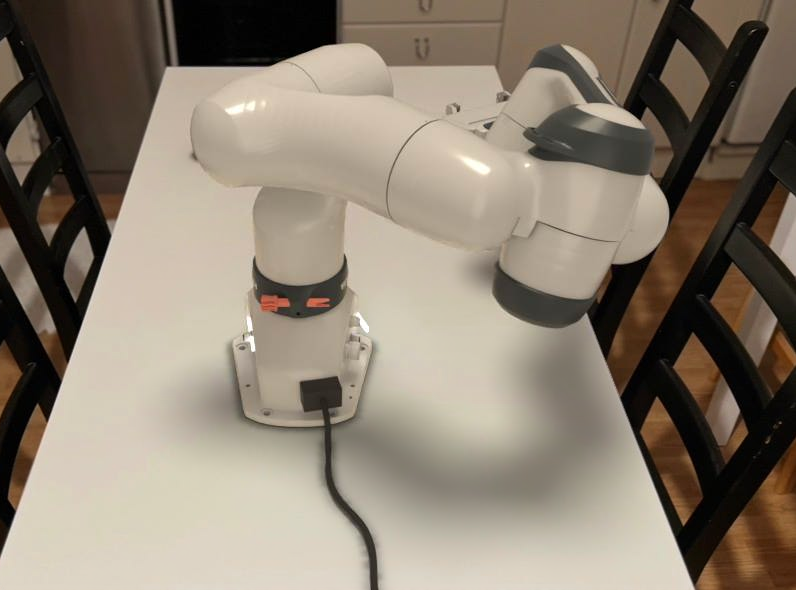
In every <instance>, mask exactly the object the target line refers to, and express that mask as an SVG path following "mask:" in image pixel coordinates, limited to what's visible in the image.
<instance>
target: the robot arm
mask: <svg viewBox="0 0 796 590" xmlns="http://www.w3.org/2000/svg"><path fill="white" fill-rule="evenodd" d="M495 102H496V103H493V104H488V105H484V106H480V107H475V108H472V109H467V110H463V111H461V106H460V105H459V104H458V103H456V102H453V103H447V104H446V107H445V115H443V116H442V117H439V116H437V115H435V114H432V113H430V112H428V111H426V110H423V109H421V108H418V107H416V106H414V105H411V104H409V103H407V102H404V101H402V100H399V99H397V98H395V95H394V83H393V78H392V75H391V72H390V70H389V68H388V66H387V64H386V62H385V61H384V59H383V58H382V57H381V55H380V54H379V53H378V52H377V51H376V50H375V49H373V48H372V47H371V46H369V45H367V44H364V43H360V42H353V43H352V42H350V43H337V44H328V45H322V46H320V47H317V48H314V49H312V50H309V51H307V52H304V53H303V52H302V53H301V54H298V55H295V56H293V57H290V58H287V59H285V60H282V61H279V62H277V63H275V64H273V65H270V66H267V67H265V68H262V69H259V70H256V71H254V72H251V73H248V74H246V75H243V76H240V77H237V78H235V79H232V80H229V81H228V82H227V83H225V84H224V85H222V86H221V87H218V89H216V90H215V91H213V92H212V93H210V94H208V96H206V97H205V98H203V99H202V100H201V101H199V102H198V103H197V104H196V105H195V107H194V109H193V111H192V115H191V119H190V128H189V133H190V134H189V135H190V143H191V147H192V151H193V153H194V157H195V158H196V161H197V163H198V164H199V165H200V167H201V168H202V170H203V171H204V172H205V173H206V174H207V175H208V176H209V177H210V178H211V179H213V180H214V181H215V182H216V183H218V184H220V185H221V186H223V187H226V188H229V189H240V188H241V189H242V188H255V187H261V188H260V190H259V192H258V193H257V195H256V197H255V200H254V203H253V206H252V214H251V215H252V229H253V242H254V243H253V245H254V256H253V257H252V258H253V259H252V267H251V279H252V285H253V286H252V287H251V289H249V290H248V291H247V292H246V293H245V294H244V308H245V322H246V331H245V332H243V334H241V335H238V336H237V337H235V338H234V339H233V340H232V353H233V360H234V365H235V370H236V371H235V372H236V375H237V376H236V377H237V382H238V388H239V394H240V398H241V405H242V410H243V414H244V416H245V417H246V418H248V419H250V420H252V421H255V422H257V423H260V424H265V425H268V426H269V425H270V426H276V427H285V428H286V427H291V428H309V427H311V428H313V427H322V426H324V452H325V464H324V473H325V479H326V483H327V486H328V489H329V491H330V493H331V495H332V497H333V499H334V500H335V502H336V503H337V505H338V506H339V507H340V508H341V509H342V510H343V511H344V513H346V514H347V515H348V516H349V517H350V518H351V519H352V521H353V522H355V524H356V525H357V526H358V528H359V529H360V531H361V532H362V534H363V537H364V539H365V542H366V545H367V550H368V555H369V575H370V576H369V578H370V579H369V580H370V590H379V579H378V578H379V577H378V556H377V549H376V546H375V541H374V539H373V537H372V534H371V531H370V530H369V528H368V526H367V524H366V523H365V522H364V520H363V519H362V517H361V516H360V515H359V514H358V513H357V512H356V511H355V510H354V509H353V508H352V507H351V506H350V505H349V504H348V503H347V502H346V501H345V499H344V498H343V497H342V496H341V494H340V492H339V491H338V489H337V487H336V484H335V481H334V477H333V471H332V452H333V451H332V447H333V446H332V425H334V424H335V425H336V424H338V423H341V422H344V421H347V420H349V419H351V418H353V417H354V416H355V415H356V412H357V408H358V404H359V400H360V396H361V392H362V389H363V387H364V385H363V384H364V381H365V378H366V374H367V371H368V366H369V362H370V359H371V355H372V352H373V342H372V340H371V338H369V337H368V336H366V335H364V334H361V333H359V328H360V325H361V327H362V328H363V330H364V331H365V333H368V332H369V326H368V324H367V323H366V321H365V320H364V319H363V317H362V316H361V314H360V313H359V295H358V294H357V293H356V292H355V291H354V290H353V289H351V287H350V286H349V285H348V280H349V279H348V278H349V268H348V267H349V266H348V259H347V255H346V254H345V233H346V231H345V230H346V215H347V214H346V213H347V208H348V207H347V206H348V202H350V203H353V204H354V205H356V206H359V207H361V208H363V209H365V210H368V211H370V212H371V213H373V214H376V215H378V216H379V217H382V218H384V219H385V220H387V221H390V222H391V223H394V224H395V225H397V226H399V227H401V228H403V229H405V230H407V231H408V232H411V233H413V234H415V235H417V236H420V237H422V238H425V239H427V240H430V241H432V242H436V243H438V244H441V245H444V246H446V247H447V246H448V247H450V248H455V249H458V250H463V251H466V252H471V253H485V252H489V251H492V250H494V249H496V248H499V247H500V246H501V251H500V255H499V259H498V260H496V262H495V264H494V268H493V274H492V282H491V283H492V285H491V291H492V293H491V294H492V296H493V298H494V300H495V301H496V302H497V304H498V305H499V307H500V308H501V309H502V310H504V311H505V313H507V314H509V315H511V316H512V317H514V318H516V319H518V320H519V321H522V322H523V323H526V324H529V325H531V326H536V327H540V328H541V327H542V328H546V329H556V330H558V329H564V328H567V327H570V326H572V325H574V324H576V323H578V322H579V321H581V320H582V318H583V317H584V316H585V315H586V313H587V312H589V309H591V307H592V305H593V304H594V303H595V301H596V299H597V298H598V295H599V293H600V291H601V285H602V283H603V281H604V279H605V278H606V275H607V273H608V272H609V269H610V268H611V266H612V265H627V264H632V263H634V262H638V261H640V260H641V259H643V258H645V257H647V256H648V255H650V253H652V252H653V251H654V250H655V249H656V248H657V247H658V246H659V244H660V243H662V242H661V241H662V240H663V239H664V236H665V234H666V232H667V230H668V226H669V222H670V207H669V203H668V200H667V198H666V196H665V193H664V192H663V191H662V189H661V187H660V186H659V184H658V183H657V182H656V181H655V179H654V178H653V177H652V176H651V171H652V169H653V165H654V164H653V163H654V158H655V153H656V141H657V140H656V139H657V138H656V137H655V135H654V134H653V132H652V130H651V128H650V127H648V126H647V125H645V124H643V123H642V122H641V120H640V119H638V118H637V117H636V116H635V115H633V114H632V113H631V112H629V111H628V110H626V109H625V108H624V106H623V105H622V104H621V102H620V101H619V100H618V98H617V97H616V96H615V94H614V93H613V92H612V91H611V89H610V88H609V87H608V85H607V84H606V83H605V82H604V80H603V77H602V74H601V72H599V70H598V68H597V66H596V65H595V64H594V62H593V61H592V60H591V59H590V58H589V57H588V56H587V55H585V54H584V52H582V51H580V50H578V49H576V48H575V47H573V46H571V45H567V44H565V45H564V44H562V43H556V44H552V45H549V46H545V47H543V48H541V49H538V50H537V51H535V54H534V56H533V57H532V59H531V61H530V63H529V65H528V66H527V68H526V70H525V73H524V75H523V76H522V78H521V79H520V81H519V82H518V84H517V86H516V87H515V89H514V90H513V92H512V93H511V92H508V91H507V90H504V91H503V90H502V91H499V92H496V97H495Z"/></svg>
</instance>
